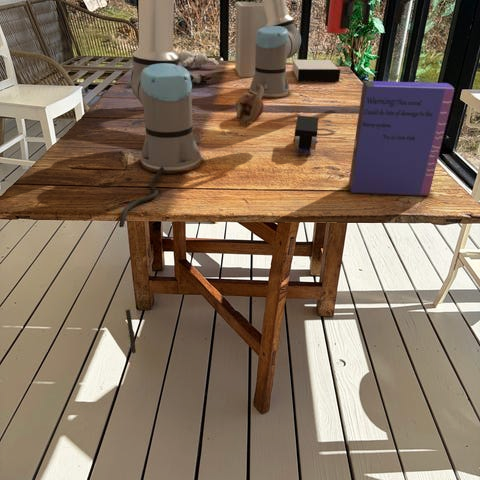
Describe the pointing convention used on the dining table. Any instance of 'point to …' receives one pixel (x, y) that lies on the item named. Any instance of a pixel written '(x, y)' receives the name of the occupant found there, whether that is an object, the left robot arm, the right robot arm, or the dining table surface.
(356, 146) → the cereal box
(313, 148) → the figurine character
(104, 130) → the dining table surface
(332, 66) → the disc drive
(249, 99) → the brown lumpy shape
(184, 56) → the toy
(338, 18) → the can
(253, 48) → the tall cream pillar
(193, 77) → the figurine
